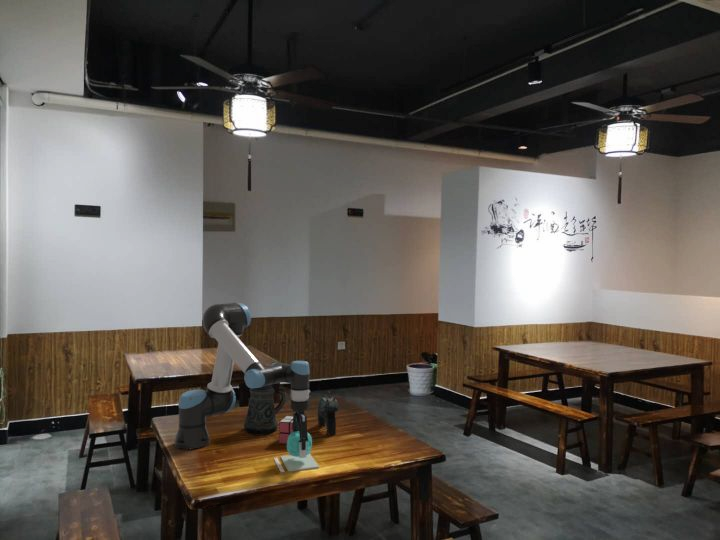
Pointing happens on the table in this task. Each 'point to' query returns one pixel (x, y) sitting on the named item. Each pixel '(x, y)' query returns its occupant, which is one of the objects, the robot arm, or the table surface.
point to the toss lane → (296, 463)
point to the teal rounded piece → (297, 444)
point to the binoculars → (327, 413)
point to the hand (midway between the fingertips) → (299, 452)
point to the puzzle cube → (285, 429)
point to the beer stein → (263, 410)
